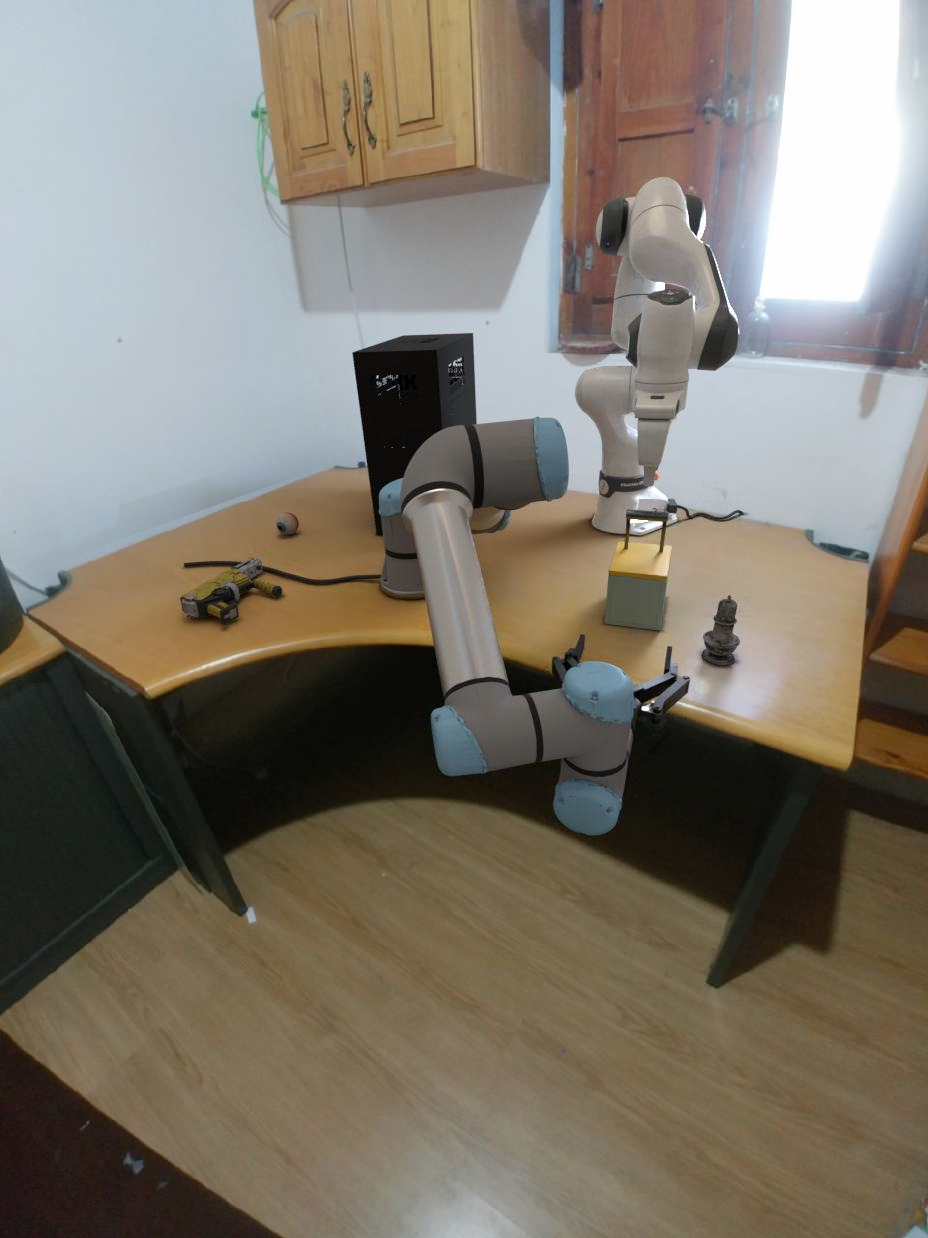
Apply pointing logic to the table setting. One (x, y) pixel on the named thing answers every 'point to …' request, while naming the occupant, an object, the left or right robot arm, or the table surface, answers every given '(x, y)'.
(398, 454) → the black computer tower
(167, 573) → the table surface
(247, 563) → the yellow angle grinder
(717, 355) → the right robot arm
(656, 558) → the lid
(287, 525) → the eyeball
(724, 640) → the dark grey chess piece
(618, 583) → the chest
